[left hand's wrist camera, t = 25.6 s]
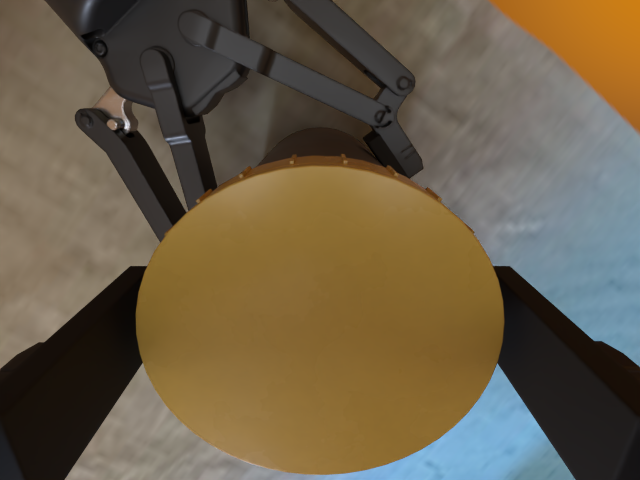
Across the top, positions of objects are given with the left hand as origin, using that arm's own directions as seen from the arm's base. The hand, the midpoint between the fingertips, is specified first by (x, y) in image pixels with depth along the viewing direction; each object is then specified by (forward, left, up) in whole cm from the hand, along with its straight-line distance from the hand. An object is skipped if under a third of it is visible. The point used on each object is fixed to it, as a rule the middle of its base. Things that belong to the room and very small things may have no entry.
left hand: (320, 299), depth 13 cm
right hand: (-4, 0, -10) cm, 11 cm away
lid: (0, 0, +2) cm, 2 cm away
